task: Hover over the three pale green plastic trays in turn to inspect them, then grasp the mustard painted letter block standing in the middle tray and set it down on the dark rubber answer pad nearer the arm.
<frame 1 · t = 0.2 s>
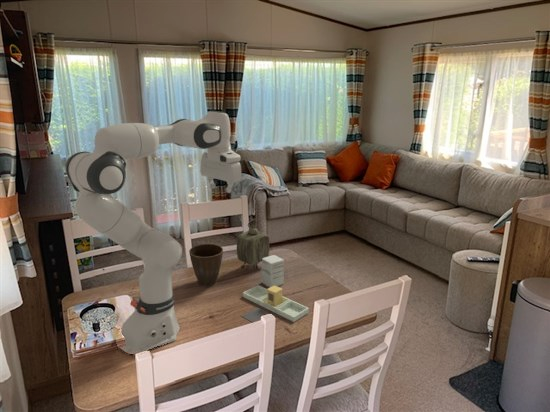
hand: (220, 190, 157), 48 cm above the table, fingers open, 8 cm apart
supplement box: (272, 284, 184), on the table
letter block: (274, 304, 166), resting on tray middle
tray right: (292, 313, 160), on the table
tray middle: (274, 305, 166), on the table
tray left: (258, 297, 172), on the table
plant pot: (207, 282, 185), on the table
answer pad: (257, 317, 158), on the table
tabletop clock: (254, 267, 201), on the table
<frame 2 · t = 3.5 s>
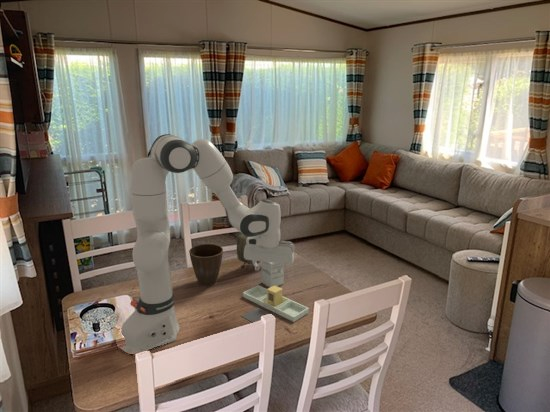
hand: (268, 271, 164), 14 cm above the table, fingers open, 8 cm apart
nothing on the table moved.
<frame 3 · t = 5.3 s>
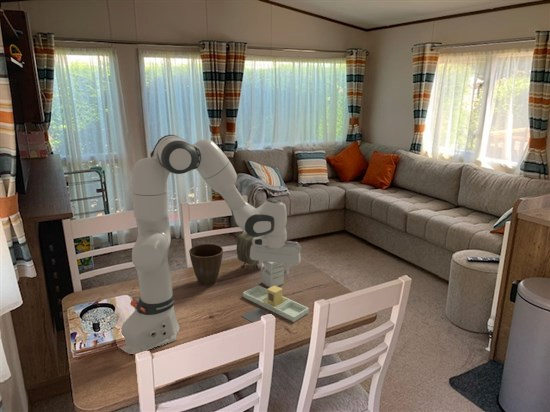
hand: (275, 271, 162), 15 cm above the table, fingers open, 8 cm apart
nothing on the table moved.
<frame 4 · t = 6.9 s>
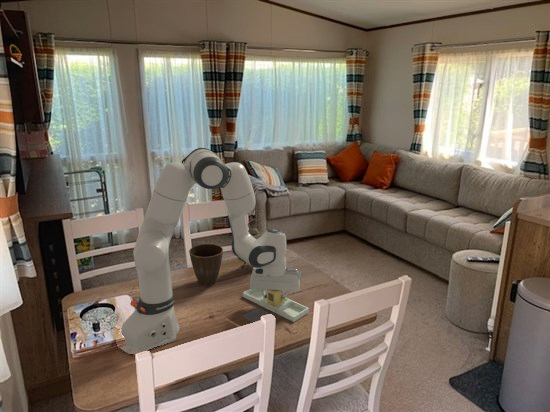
hand: (274, 298, 165), 3 cm above the table, fingers closed on letter block, 6 cm apart
letter block: (274, 304, 166), resting on tray middle, touching gripper
everything else where it was.
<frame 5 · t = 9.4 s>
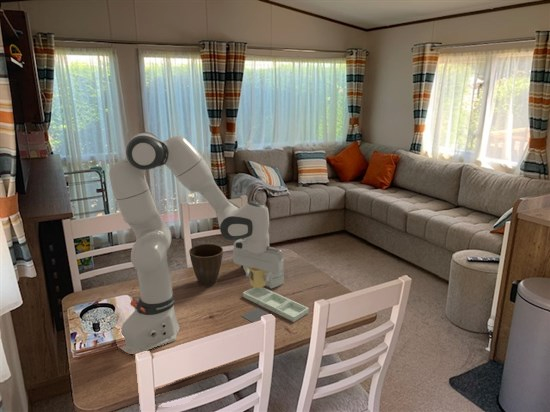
hand: (257, 278, 153), 17 cm above the table, fingers closed on letter block, 6 cm apart
letter block: (257, 284, 154), point 14 cm above the table, touching gripper
everything else where it was.
when the fingers open (4 cm above the table, at t = 12.1 s): letter block drops 1 cm, resting on answer pad.
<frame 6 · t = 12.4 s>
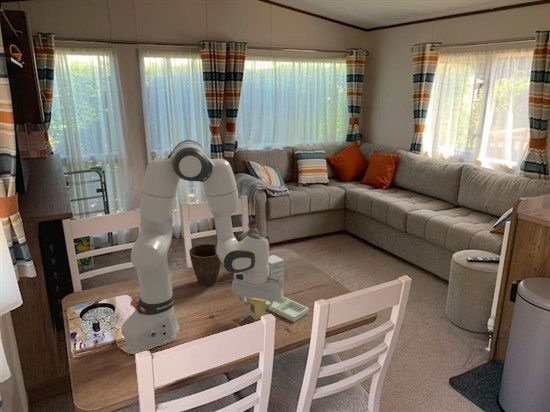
hand: (257, 307, 157), 4 cm above the table, fingers open, 8 cm apart
letter block: (257, 315, 158), point 1 cm above the table, touching answer pad
everything else where it was.
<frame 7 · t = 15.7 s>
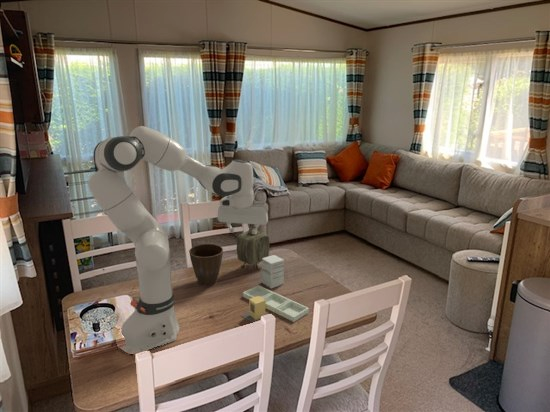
hand: (243, 233, 164), 29 cm above the table, fingers open, 8 cm apart
nothing on the table moved.
at the end: letter block inside the target area on the answer pad (0.1 cm from its centre), point 0.6 cm above the answer pad's base; letter block tilted 0°; the gripper is holding nothing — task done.
